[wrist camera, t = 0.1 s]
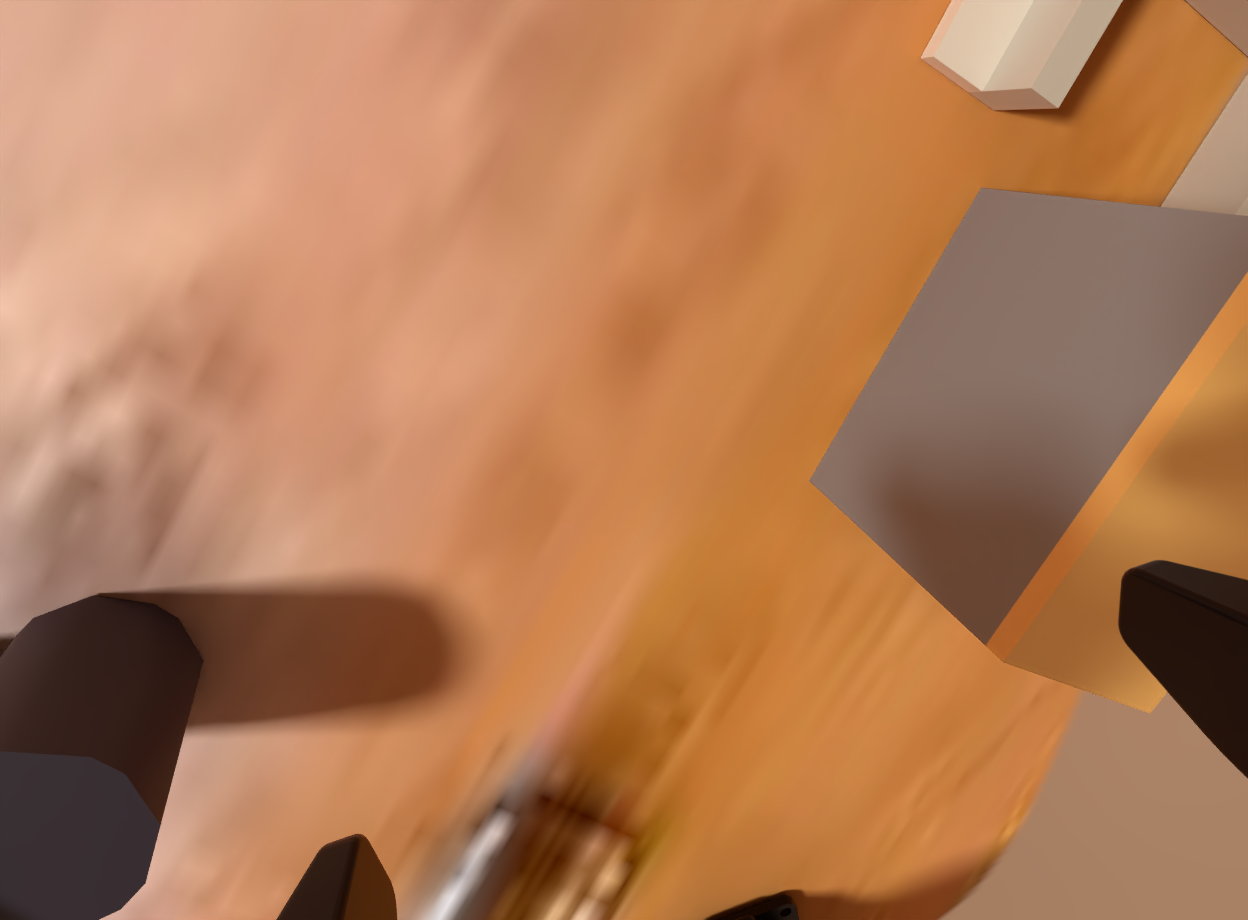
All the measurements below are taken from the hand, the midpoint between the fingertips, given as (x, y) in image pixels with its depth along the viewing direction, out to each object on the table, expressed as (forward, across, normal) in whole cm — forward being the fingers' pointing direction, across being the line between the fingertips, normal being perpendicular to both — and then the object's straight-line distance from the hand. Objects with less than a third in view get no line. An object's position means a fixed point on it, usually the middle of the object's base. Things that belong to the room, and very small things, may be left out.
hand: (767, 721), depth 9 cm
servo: (+15, -12, +4) cm, 19 cm away
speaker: (+15, +15, +4) cm, 22 cm away
